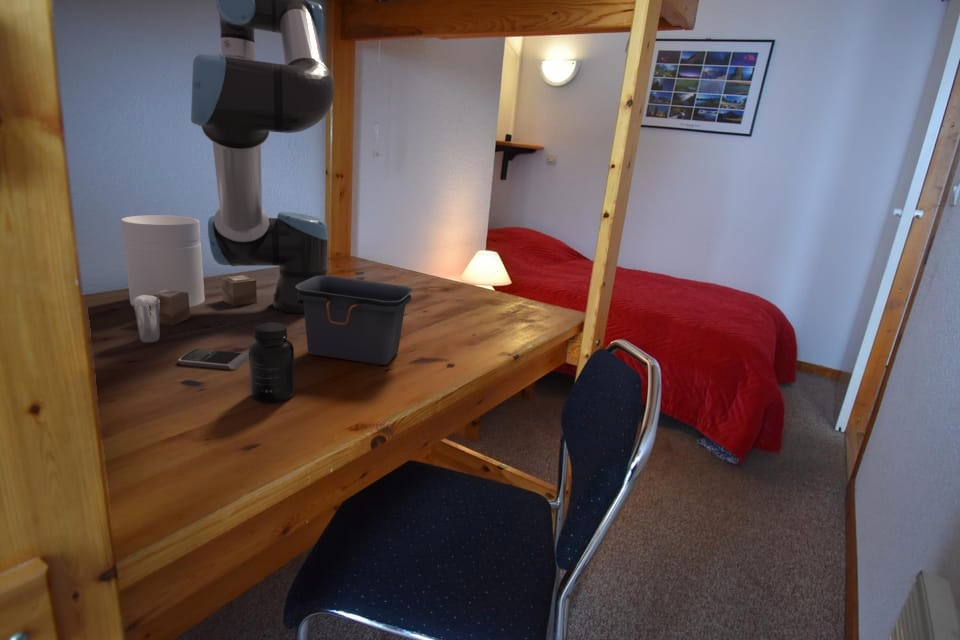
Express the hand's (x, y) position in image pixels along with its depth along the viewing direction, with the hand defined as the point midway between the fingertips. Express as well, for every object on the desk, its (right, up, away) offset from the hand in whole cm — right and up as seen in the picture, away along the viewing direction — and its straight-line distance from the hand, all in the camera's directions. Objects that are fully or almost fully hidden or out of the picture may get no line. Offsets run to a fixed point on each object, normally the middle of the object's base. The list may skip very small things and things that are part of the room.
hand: (242, 161), depth 136 cm
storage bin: (+35, -48, -28) cm, 66 cm away
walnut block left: (-9, -41, -17) cm, 45 cm away
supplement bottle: (+26, -53, -47) cm, 76 cm away
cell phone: (+11, -49, -36) cm, 62 cm away
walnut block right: (-1, -36, +1) cm, 36 cm away
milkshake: (-5, -45, -29) cm, 54 cm away
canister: (-17, -36, -4) cm, 40 cm away
